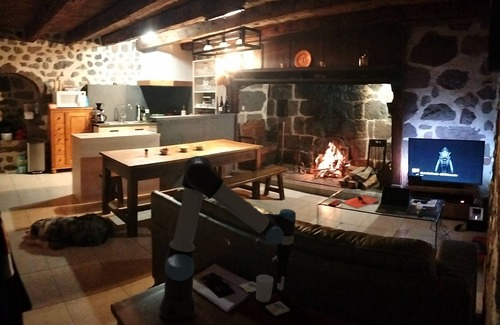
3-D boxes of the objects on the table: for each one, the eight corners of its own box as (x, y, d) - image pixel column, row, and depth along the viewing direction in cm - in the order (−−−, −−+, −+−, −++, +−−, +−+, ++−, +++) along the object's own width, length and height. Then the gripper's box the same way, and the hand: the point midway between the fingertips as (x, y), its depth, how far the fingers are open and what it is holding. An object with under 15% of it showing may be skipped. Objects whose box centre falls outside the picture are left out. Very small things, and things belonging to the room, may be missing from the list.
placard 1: (239, 286, 195) (239, 284, 195) (252, 283, 200) (252, 281, 199) (247, 293, 189) (247, 291, 189) (260, 289, 194) (261, 287, 194)
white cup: (270, 304, 182) (272, 284, 180) (253, 301, 183) (255, 281, 181) (272, 295, 189) (274, 276, 187) (256, 292, 191) (258, 273, 189)
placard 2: (265, 307, 178) (265, 305, 178) (279, 303, 183) (279, 301, 183) (275, 315, 173) (275, 313, 172) (289, 311, 177) (289, 308, 177)
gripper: (279, 247, 180) (274, 295, 185) (300, 243, 188) (295, 289, 192) (269, 241, 186) (264, 288, 191) (290, 237, 194) (285, 282, 198)
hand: (280, 288), depth 191 cm, fingers closed
